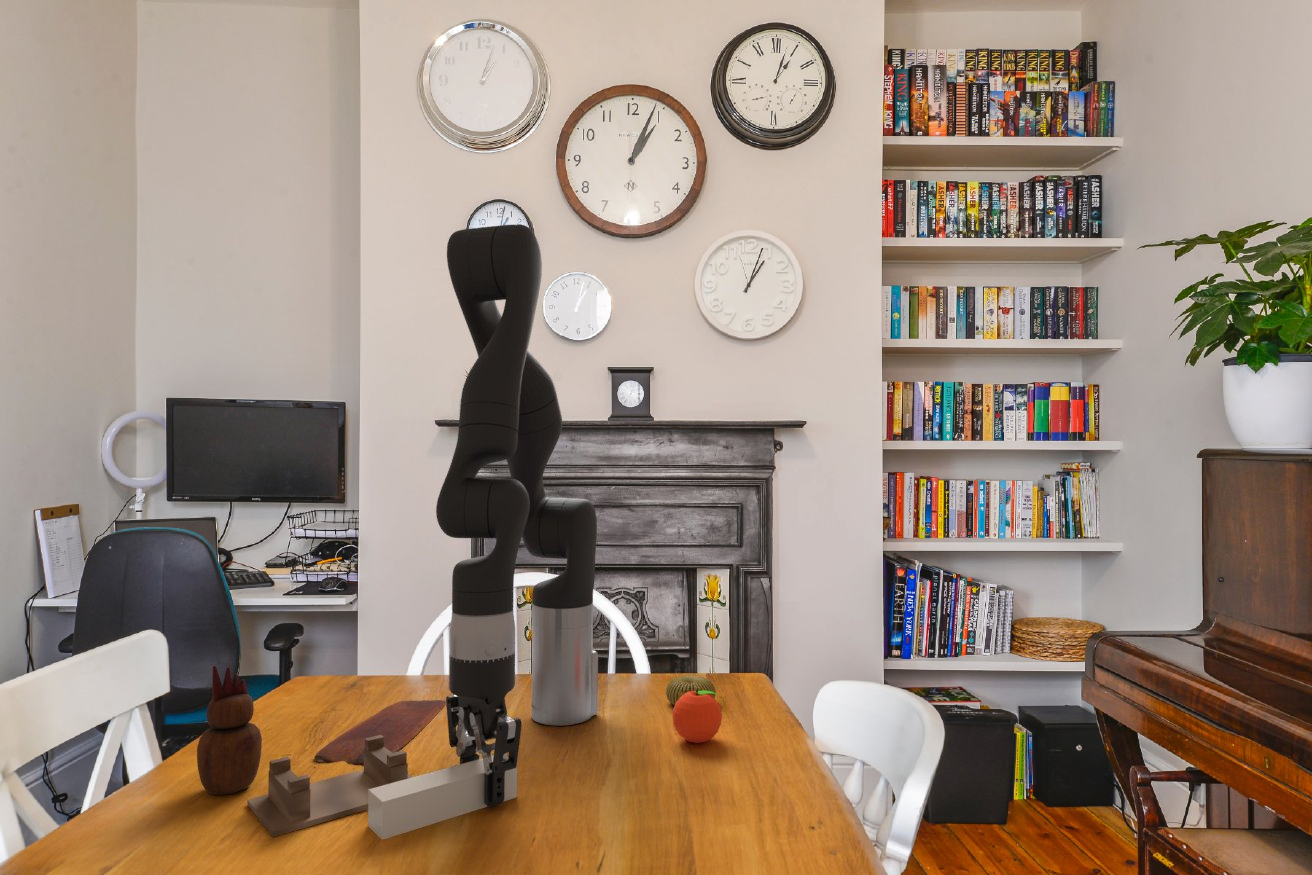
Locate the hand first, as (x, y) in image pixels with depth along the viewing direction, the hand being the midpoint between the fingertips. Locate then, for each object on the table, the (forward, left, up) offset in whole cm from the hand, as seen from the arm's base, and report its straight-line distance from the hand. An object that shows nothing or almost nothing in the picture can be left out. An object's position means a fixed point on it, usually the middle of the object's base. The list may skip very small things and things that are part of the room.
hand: (481, 794), depth 92 cm
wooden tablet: (-2, -30, -1) cm, 30 cm away
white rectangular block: (+4, 0, -1) cm, 5 cm away
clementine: (-33, +3, -1) cm, 33 cm away
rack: (+12, -11, 0) cm, 17 cm away
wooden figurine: (+21, -22, -1) cm, 31 cm away
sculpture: (-43, -10, -1) cm, 44 cm away
